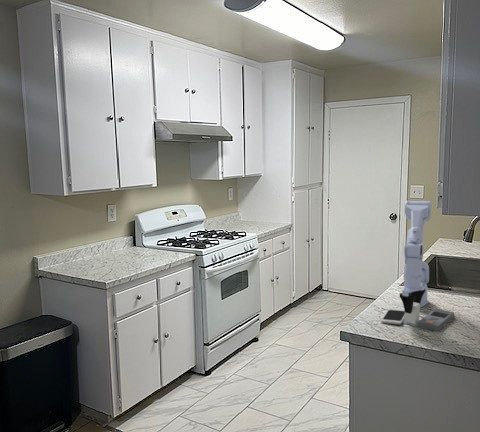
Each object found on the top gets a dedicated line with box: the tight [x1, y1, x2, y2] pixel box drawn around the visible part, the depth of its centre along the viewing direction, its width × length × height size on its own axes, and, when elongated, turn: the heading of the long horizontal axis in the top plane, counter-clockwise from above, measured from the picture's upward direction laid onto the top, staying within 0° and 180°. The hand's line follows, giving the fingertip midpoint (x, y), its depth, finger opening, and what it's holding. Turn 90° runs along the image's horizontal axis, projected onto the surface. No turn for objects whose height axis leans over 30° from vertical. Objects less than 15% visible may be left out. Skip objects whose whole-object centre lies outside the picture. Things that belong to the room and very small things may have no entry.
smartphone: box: [380, 307, 405, 325], centre depth 174 cm, size 7×15×1 cm, turn 150°
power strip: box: [418, 308, 455, 332], centre depth 168 cm, size 18×7×2 cm, turn 138°
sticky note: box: [401, 318, 421, 327], centre depth 169 cm, size 6×6×1 cm
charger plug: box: [404, 302, 421, 324], centre depth 168 cm, size 4×4×7 cm
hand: (412, 310), depth 168 cm, fingers open, 7 cm apart
